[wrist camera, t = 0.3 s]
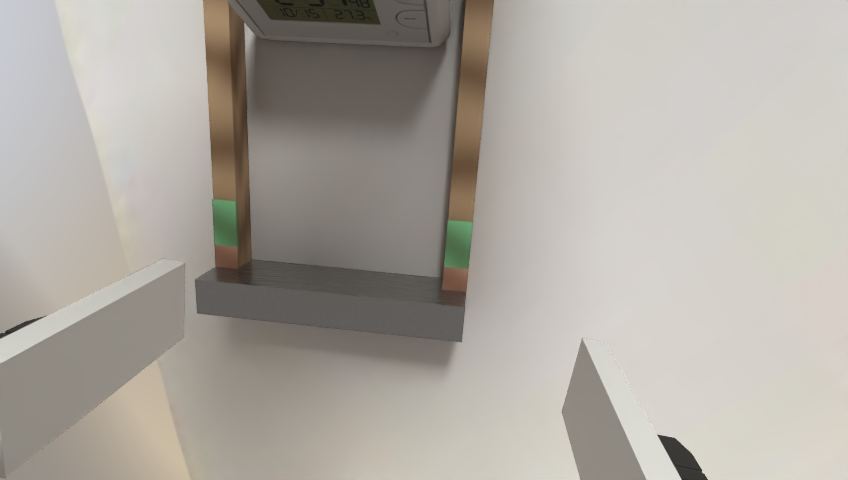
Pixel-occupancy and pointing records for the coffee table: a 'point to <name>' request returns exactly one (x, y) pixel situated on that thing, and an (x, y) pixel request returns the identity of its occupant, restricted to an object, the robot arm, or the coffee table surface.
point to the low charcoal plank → (334, 299)
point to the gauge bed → (233, 139)
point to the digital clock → (348, 21)
